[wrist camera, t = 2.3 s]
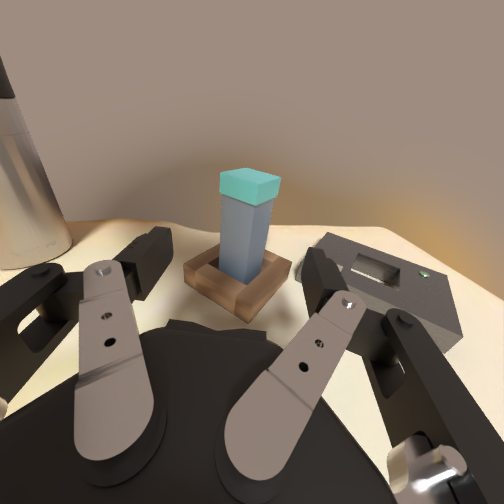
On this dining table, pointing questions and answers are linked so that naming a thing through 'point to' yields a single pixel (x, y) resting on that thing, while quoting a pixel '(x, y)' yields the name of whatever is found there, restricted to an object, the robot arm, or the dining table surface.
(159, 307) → the dining table surface
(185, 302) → the dining table surface
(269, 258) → the holster
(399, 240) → the dining table surface
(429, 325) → the port panel
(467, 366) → the dining table surface
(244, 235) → the plug
